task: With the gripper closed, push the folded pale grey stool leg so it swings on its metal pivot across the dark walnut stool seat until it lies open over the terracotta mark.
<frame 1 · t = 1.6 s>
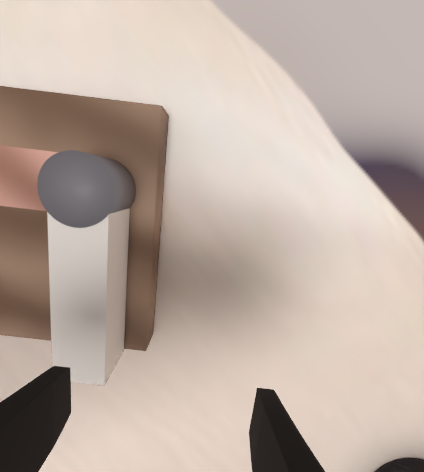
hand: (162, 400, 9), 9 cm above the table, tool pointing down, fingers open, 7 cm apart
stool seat: (48, 222, 17), on the table
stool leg: (91, 270, 14), point 4 cm above the table, hinge at 90.0°
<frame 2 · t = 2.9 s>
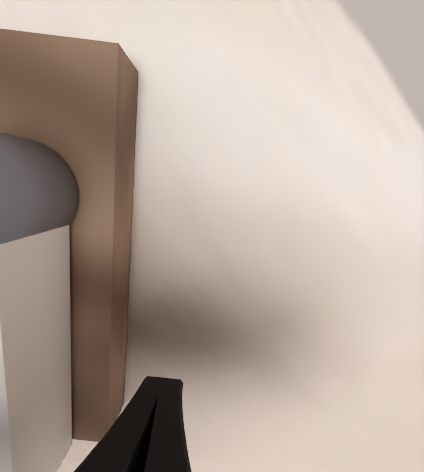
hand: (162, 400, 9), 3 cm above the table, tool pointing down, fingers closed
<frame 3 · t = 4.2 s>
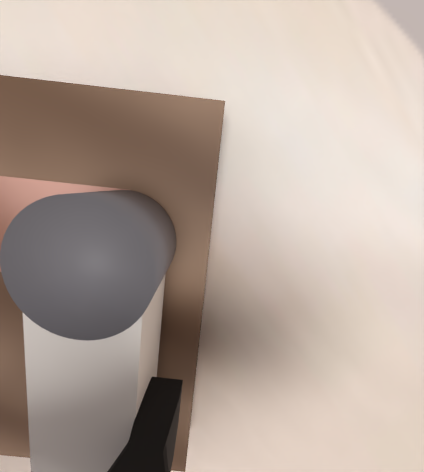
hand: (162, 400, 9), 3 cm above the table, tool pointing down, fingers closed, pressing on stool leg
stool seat: (36, 279, 11), on the table
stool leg: (103, 382, 8), point 4 cm above the table, hinge at 89.1°, touching gripper
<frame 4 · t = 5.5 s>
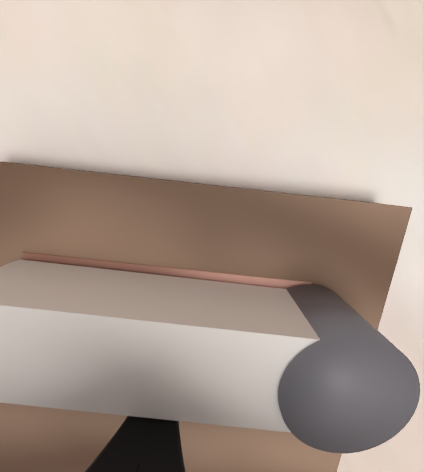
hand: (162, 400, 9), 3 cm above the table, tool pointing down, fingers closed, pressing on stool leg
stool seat: (179, 344, 12), on the table
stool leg: (181, 340, 8), point 4 cm above the table, hinge at -0.4°, touching gripper
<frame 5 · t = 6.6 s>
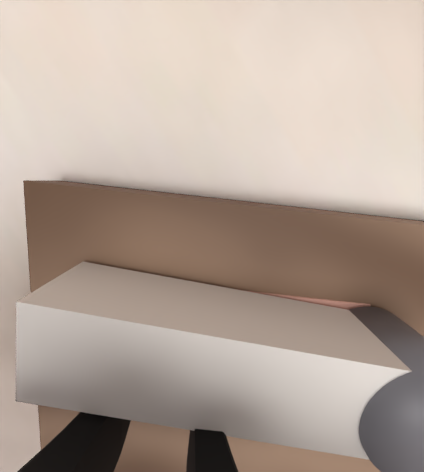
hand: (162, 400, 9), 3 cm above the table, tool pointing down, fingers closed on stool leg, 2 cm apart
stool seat: (223, 359, 12), on the table
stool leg: (251, 357, 8), point 4 cm above the table, hinge at -4.4°, touching gripper
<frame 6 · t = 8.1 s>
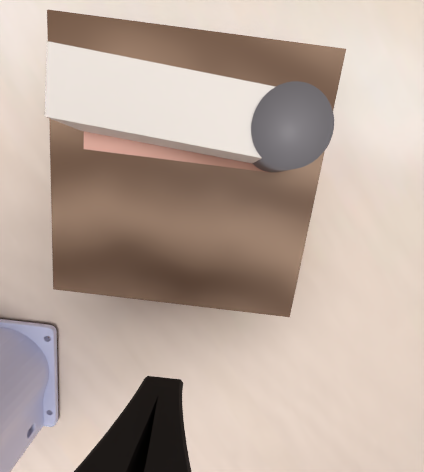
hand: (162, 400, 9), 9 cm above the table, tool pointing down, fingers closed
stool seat: (187, 182, 16), on the table
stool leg: (193, 116, 12), point 4 cm above the table, hinge at -3.5°
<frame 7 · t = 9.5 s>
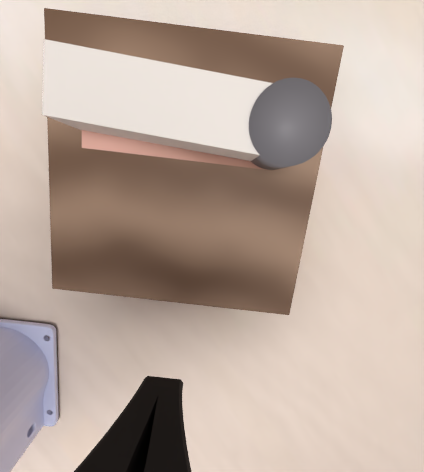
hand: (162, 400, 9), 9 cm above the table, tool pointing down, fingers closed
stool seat: (185, 180, 16), on the table
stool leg: (190, 114, 12), point 4 cm above the table, hinge at -3.5°
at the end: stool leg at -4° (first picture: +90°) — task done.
